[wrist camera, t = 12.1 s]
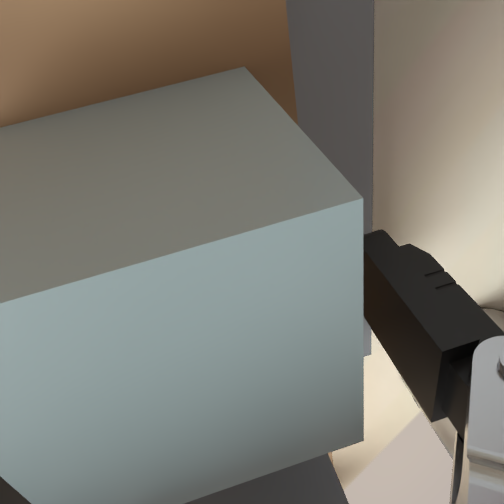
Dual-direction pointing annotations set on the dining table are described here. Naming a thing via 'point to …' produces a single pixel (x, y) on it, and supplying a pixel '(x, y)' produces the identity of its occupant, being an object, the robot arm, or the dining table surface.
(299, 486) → the grey cube
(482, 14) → the dining table surface
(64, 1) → the brown wooden box
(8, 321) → the crate
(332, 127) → the dock
